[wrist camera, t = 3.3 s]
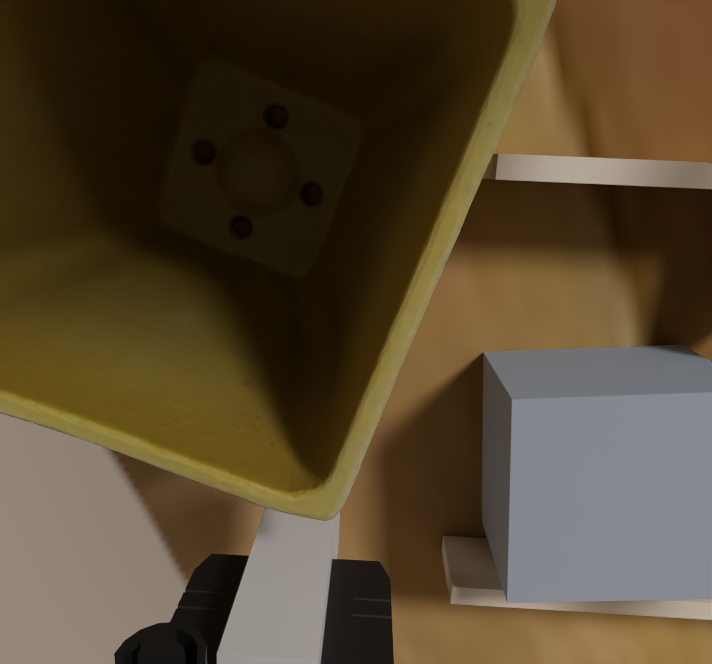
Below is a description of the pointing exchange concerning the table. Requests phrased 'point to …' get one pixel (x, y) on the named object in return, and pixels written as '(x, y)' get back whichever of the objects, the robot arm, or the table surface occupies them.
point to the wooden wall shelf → (473, 555)
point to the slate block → (598, 473)
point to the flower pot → (227, 202)
